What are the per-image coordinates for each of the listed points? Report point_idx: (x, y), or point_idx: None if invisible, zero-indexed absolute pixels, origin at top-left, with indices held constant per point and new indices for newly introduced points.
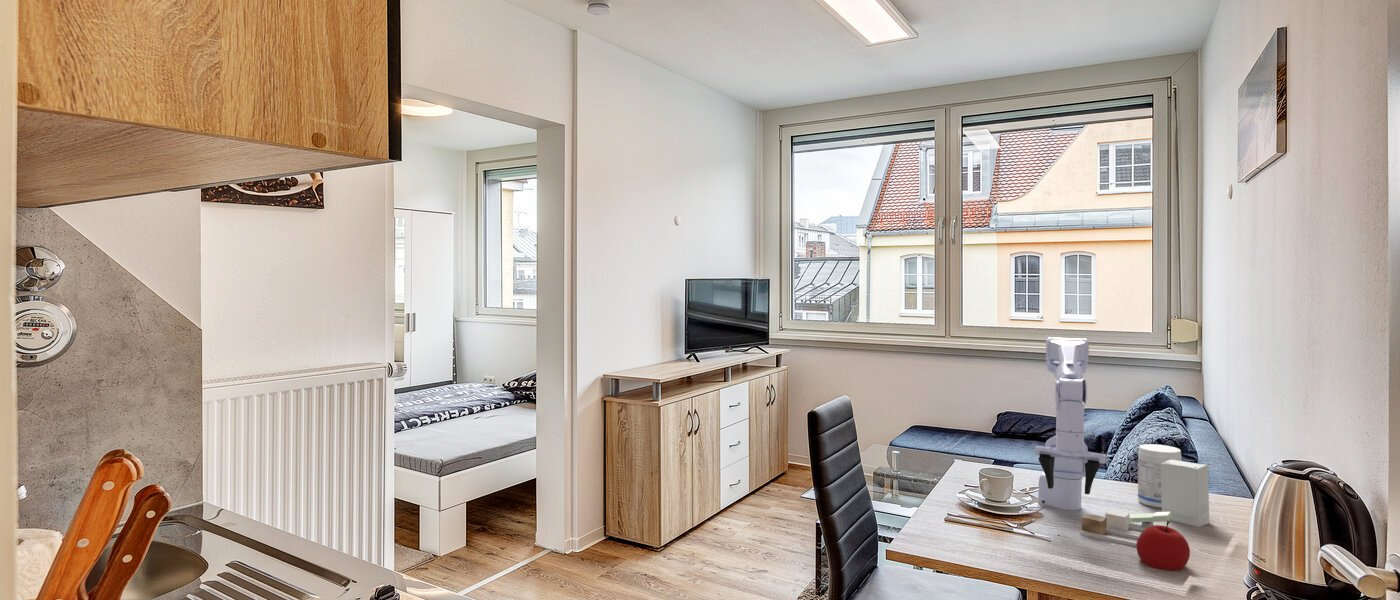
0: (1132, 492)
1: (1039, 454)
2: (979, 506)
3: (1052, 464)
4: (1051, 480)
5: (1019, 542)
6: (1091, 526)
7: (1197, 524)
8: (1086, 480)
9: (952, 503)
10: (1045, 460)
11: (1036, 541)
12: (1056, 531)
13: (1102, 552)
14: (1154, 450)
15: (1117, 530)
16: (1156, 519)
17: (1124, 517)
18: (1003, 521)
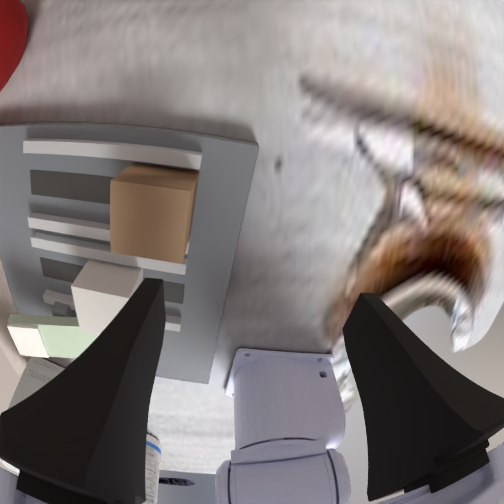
0: (179, 458)
1: (490, 457)
2: (453, 301)
3: (389, 443)
4: (373, 337)
5: (389, 29)
6: (158, 176)
7: (28, 362)
8: (126, 342)
9: (492, 287)
10: (492, 419)
11: (343, 57)
12: (286, 200)
13: (127, 64)
14: None
15: (103, 249)
16: (31, 319)
17: (72, 284)
18: (429, 217)
